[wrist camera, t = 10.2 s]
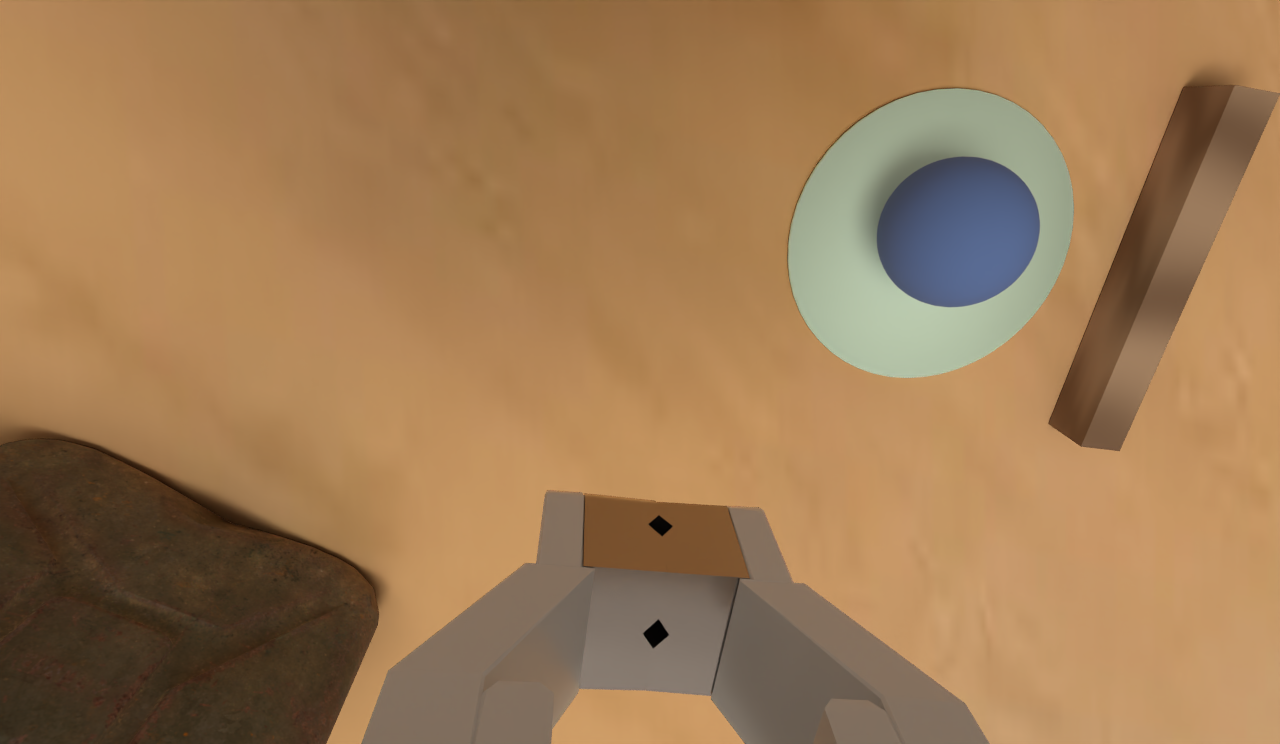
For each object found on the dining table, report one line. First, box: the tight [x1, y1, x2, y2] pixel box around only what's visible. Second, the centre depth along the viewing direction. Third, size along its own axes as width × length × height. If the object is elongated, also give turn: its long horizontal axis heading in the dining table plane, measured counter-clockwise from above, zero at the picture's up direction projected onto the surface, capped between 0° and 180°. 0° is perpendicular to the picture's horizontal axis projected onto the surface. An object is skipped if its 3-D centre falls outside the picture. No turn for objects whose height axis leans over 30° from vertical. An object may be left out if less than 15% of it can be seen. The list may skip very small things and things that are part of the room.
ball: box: [877, 156, 1040, 307], centre depth 27 cm, size 6×6×6 cm
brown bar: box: [1049, 85, 1280, 451], centre depth 30 cm, size 16×2×2 cm, turn 171°
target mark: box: [787, 88, 1074, 378], centre depth 31 cm, size 13×13×1 cm
